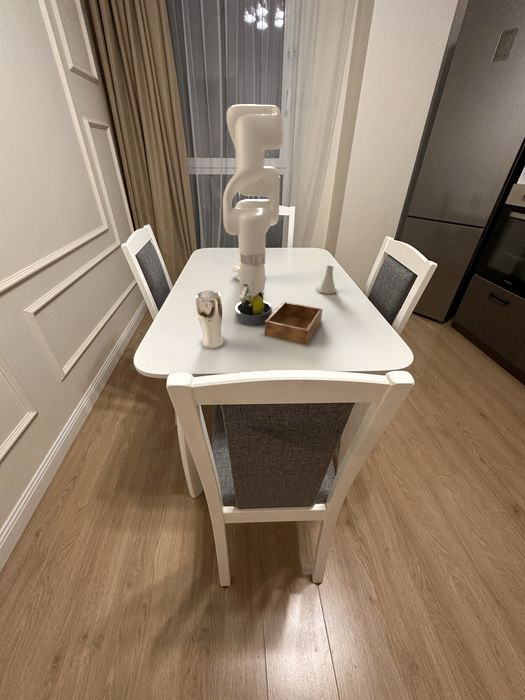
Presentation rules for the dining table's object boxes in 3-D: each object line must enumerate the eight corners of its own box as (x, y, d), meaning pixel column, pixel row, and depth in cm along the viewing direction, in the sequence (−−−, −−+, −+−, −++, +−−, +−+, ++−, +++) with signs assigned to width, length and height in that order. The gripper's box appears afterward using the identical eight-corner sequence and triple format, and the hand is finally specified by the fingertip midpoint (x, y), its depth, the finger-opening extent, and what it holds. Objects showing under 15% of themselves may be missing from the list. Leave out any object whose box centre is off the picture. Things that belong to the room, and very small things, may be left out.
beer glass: (202, 336, 87) (196, 290, 79) (225, 335, 88) (221, 289, 79) (200, 349, 81) (193, 301, 73) (224, 348, 82) (220, 300, 73)
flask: (335, 295, 114) (339, 270, 108) (317, 293, 115) (320, 269, 109) (335, 288, 120) (339, 264, 114) (318, 286, 121) (320, 263, 115)
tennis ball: (240, 311, 98) (239, 292, 94) (259, 308, 100) (259, 289, 97) (247, 320, 93) (247, 300, 89) (267, 316, 95) (267, 297, 91)
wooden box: (264, 335, 88) (264, 321, 85) (282, 314, 100) (283, 301, 97) (306, 345, 83) (308, 331, 81) (320, 322, 95) (322, 308, 92)
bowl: (229, 322, 95) (228, 311, 93) (246, 307, 104) (245, 297, 102) (262, 330, 91) (262, 318, 89) (277, 314, 100) (277, 303, 98)
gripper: (254, 249, 94) (254, 299, 104) (227, 264, 81) (231, 319, 91) (275, 252, 91) (273, 303, 101) (251, 268, 78) (252, 324, 88)
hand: (253, 310), depth 96 cm, fingers closed on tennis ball, 7 cm apart
